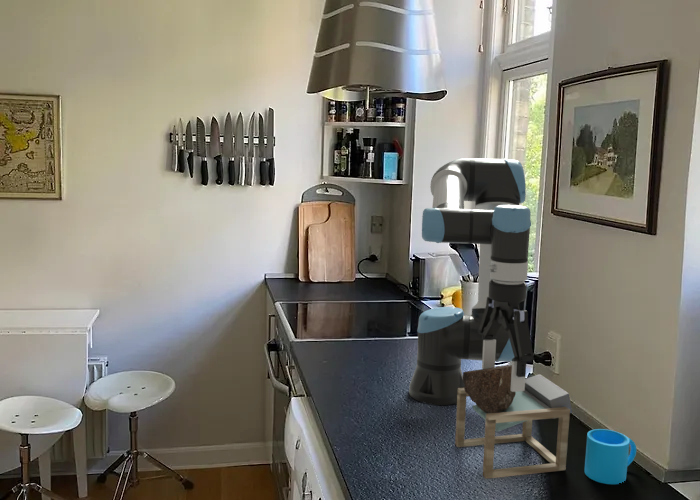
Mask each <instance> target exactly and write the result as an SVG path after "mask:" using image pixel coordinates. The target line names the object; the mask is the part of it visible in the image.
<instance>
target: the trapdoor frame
mask: <svg viewBox="0 0 700 500" xmlns="http://www.w3.org/2000/svg"><path fill="white" fill-rule="evenodd" d="M467 397H470V396H469V395H468V394H467V393H466V392H465V390H464V388H458V393H457V404H456V413H455V415H456V416H455V418H456V419H455V421H456V422H455V437H454V438H455V440H454V442H455V443H454V445H455V446H456V447H457V448H465V447H474V446H476V447H477V446H483V460H482V462H483V463H482V476H483V477H484V479H495V478H506V477H513V476H515V477H516V476H523V475H533V474H541V473H551V472H561V471H566V468H567V467H566V466H567V457H568V455H567V453H568V442H569V441H568V440H569V439H568V438H569V427H570V417H571V416H570V415H571V413H570V409H568V408H567V407H560V408H548V409H536V410H524V411H512V412H501V413H489V414H486V421H485V422H484V423H485V425H484V426H485V427H484V437H474V438H465V433H466V431H465V429H466V416H467V415H466V411H467ZM553 418H556V419H558V422H557V425H558V426H557V438H556V440H557V441H556V451H555V452H556V453H555V455H554V454H553V453H552V452H550V450H549V449H547V448H546V447H545V446H544V445H543V444H541V443H540V442H539V441H538V440H537V439H535V438H534V437H533V436H532V434H533V433H532V432H533V431H532V429H533V421H535V420H549V419H553ZM526 420H528V421H526ZM515 421H525V422H523V423H522V431H521V432H522V433H518V434H517V433H516V434H507V435H505V434H504V435H497V436H496V430H495V427H496V423H504V422H515ZM515 442H516V443H517V442H526V443H527V444H528V445H529V446H531V447H532V448H533V450H535V451H536V452H537V453H538V454H539V455H540V456H542V457H543V458H544V459H545V460H546V461H547V462H548V463H542V464H534V465H523V466H514V467H504V468H496V469H494V457H495V444H504V443H515Z"/></svg>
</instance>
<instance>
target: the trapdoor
mask: <svg viewBox="0 0 700 500" xmlns="http://www.w3.org/2000/svg"><path fill="white" fill-rule="evenodd" d="M560 407H567V408H568V409H570V414H572V413H573V409H572V402H571V397H570V393H569V392H567V391H566V390H565V389H563V388H562V387H560V386H559V385H557V384H555V383H554V382H553V381H551V380H550V379H548V378H547V377H545V376H544V375H542V374H540V373H539V374H536V375H532V376H529V377H527V378H525V390H524V391H516V392H515V397H514V399H513V402H512V404H511V405H510V406H509V407H508V409H507V410H506V411H503V412H512V411H524V410H536V409H548V408H560ZM472 409H473V410H474V411H475V413H476V414H478V415H479V416H480V417H481V418H482V419H483V420H484V421H485V422H486V414H489V413H486V412H484V411H482V410H481V409H480V408H478V406H477V404H476V403H475V404H474V405H472ZM552 419H553V420H556V419H557V418H552ZM526 421H528V420H526ZM523 422H525V421H515V422H504V423H496V427H495V432H501V431H503V430H507V429H509V428H511V427H514V426H517V425H519V424H523Z"/></svg>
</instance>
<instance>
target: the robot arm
mask: <svg viewBox="0 0 700 500" xmlns="http://www.w3.org/2000/svg"><path fill="white" fill-rule="evenodd" d="M525 178H526V176H525V171H524V168H523V165H522V163H521V162H520V161H519V160H517V159H508V158H469V157H468V158H467V157H466V158H465V157H463V158H458V159H455V160H451V161H449V162H447V163H445V164H444V165H442V166H441V167H439V168H438V169H437V170H436V171H435V172H434V174H433V175H432V177H431V180H430V192H431V195H432V198H433V199H432V207H427V208H425V209H423V210H422V216H421V217H422V218H421V237H422V240H423V241H425V242H430V243H431V242H432V243H437V244H439V243H440V244H441V243H443V244H445V243H446V244H472V245H473V244H475V245H479V254H478V256H479V257H478V259H479V260H478V286H477V287H478V290H477V303H475V305H474V306H472V307H471V314H465V312H464V310H463V308H460V307H454V306H441V307H433V308H430V309H427V310H425V311H423V312H422V313H421V314H420V315H419V318H418V326H417V330H416V332H417V349H416V350H417V352H416V366H415V369H414V371H413V374H412V378H411V379H410V383H409V386H408V387H409V388H408V390H409V391H408V393H409V396H410V397H411V398H412V399H414V400H416V401H417V402H419V403H422V404H423V403H424V404H428V405H436V406H449V405H457V393H458V388H464V386H465V384H464V382H463V371H462V360H469V361H481V369H487V368H494V367H496V365H495V364H496V363H501V362H504V363H505V362H506V363H509V362H511V365H512V373H511V391H512V392H516V391H524V390H525V379H526V374H527V372H526V371H527V362H528V361H533V360H534V352H533V346H532V340H531V335H530V334H531V333H530V328H529V327H530V326H529V318H528V317H529V313H528V311H527V310H520V304H521V303H522V302H524V301H525V300H526V298H527V283H526V282H525V281H527V280H528V266H529V257H528V256H529V248H530V247H529V245H530V234H531V233H530V232H531V226H532V221H531V212H532V211H531V210H530V208H529V207H528V206H523V205H522V204H523V203H525V201H526V197H527V196H526V179H525ZM465 202H474V203H475V205H474V206H475V209H471V208H470V209H468V208H465ZM520 204H521V205H520Z"/></svg>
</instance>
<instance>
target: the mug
mask: <svg viewBox="0 0 700 500" xmlns="http://www.w3.org/2000/svg"><path fill="white" fill-rule="evenodd" d="M629 450H630V452H629ZM636 455H637V445H636V443H635V441H633V439H631V438H630V437H628V436H627V435H625V434H624V433H621V432H618V431H615V430H612V429H607V428H597V429H596V428H595V429H591V430H589V431H588V432H587V435H586V447H585V459H584V474H585V475H586V476H587V477H588V478H589V479H591V480H593V481H595V482H597V483H600V484H606V485H620V484H619V483H621V484H622V482H623V483H625V482H626V480H627V474H628V473H627V472H628V467H629V466H630V465H631V464H632V462H633V461H634V459H635V457H636ZM624 481H625V482H624Z"/></svg>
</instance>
